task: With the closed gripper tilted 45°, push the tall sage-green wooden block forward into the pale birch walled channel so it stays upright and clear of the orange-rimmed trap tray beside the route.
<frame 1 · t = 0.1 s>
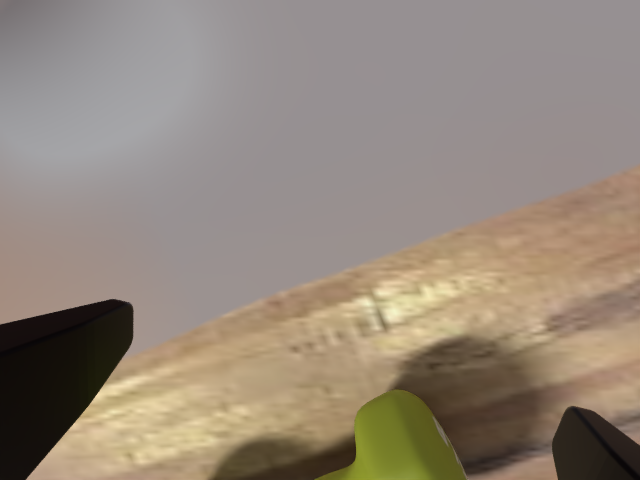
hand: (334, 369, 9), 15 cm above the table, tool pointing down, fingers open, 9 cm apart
dumbbell: (317, 475, 26), on the table
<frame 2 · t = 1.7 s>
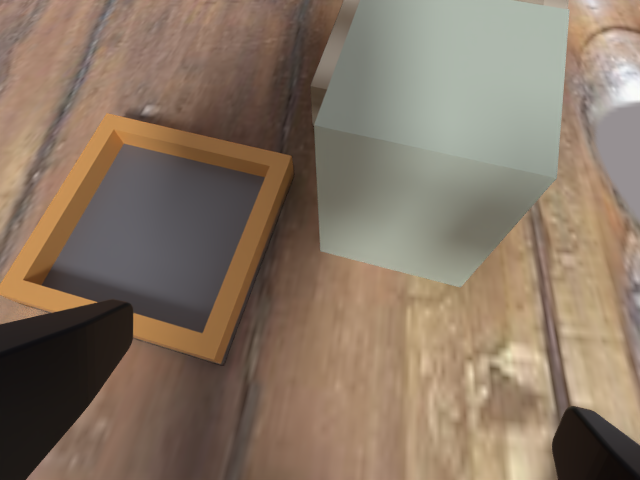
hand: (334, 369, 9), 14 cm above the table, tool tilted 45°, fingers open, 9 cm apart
trap tray: (165, 235, 25), on the table
birch channel: (434, 79, 30), on the table
sage block: (403, 208, 26), on the table
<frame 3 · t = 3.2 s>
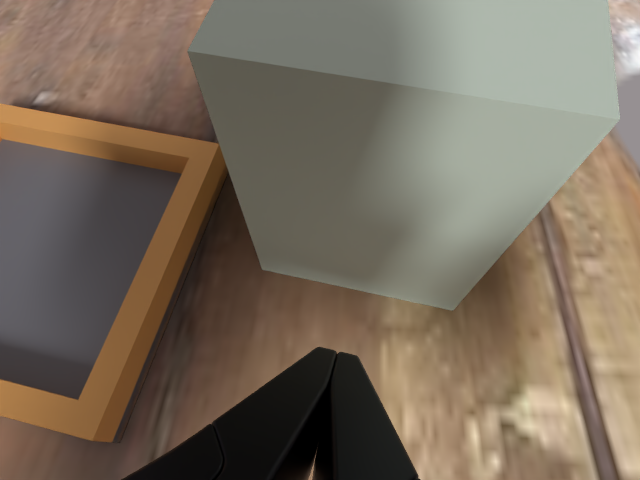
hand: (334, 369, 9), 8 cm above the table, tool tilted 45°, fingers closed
trap tray: (51, 257, 18), on the table
sage block: (372, 208, 19), on the table
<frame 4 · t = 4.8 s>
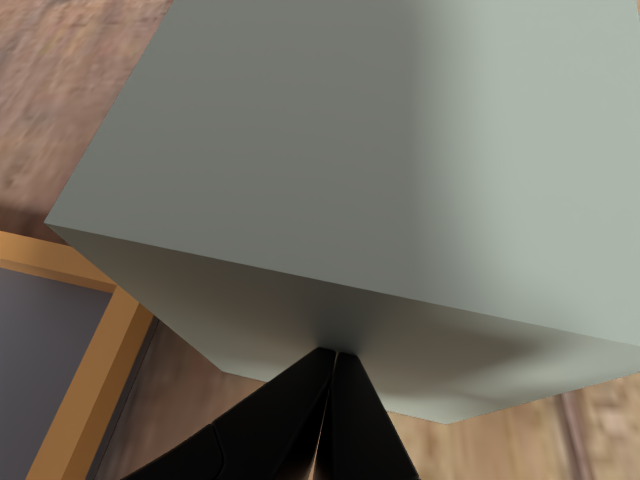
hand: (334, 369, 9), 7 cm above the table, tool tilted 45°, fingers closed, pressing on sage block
sage block: (352, 291, 17), on the table, touching gripper
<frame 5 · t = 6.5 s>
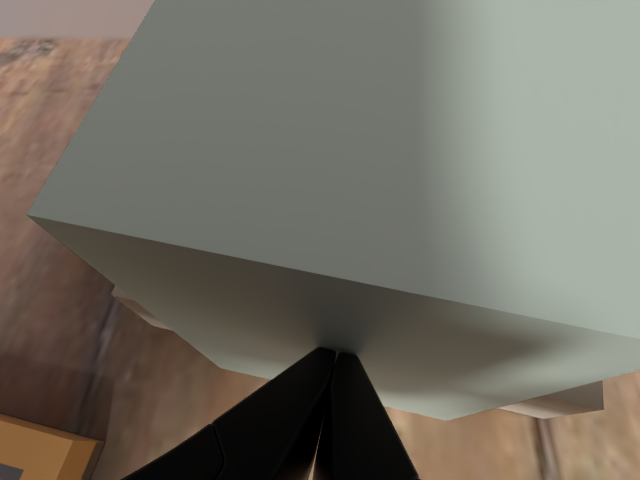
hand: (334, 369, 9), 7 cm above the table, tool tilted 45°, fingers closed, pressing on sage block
birch channel: (368, 223, 18), on the table
sage block: (351, 286, 17), on the table, touching gripper
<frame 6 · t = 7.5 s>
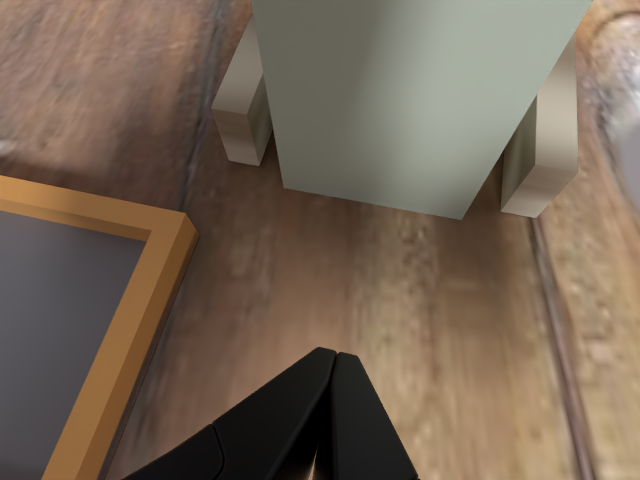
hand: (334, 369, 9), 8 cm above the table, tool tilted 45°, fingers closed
trap tray: (2, 340, 17), on the table
birch channel: (396, 90, 22), on the table
sage block: (384, 133, 21), on the table
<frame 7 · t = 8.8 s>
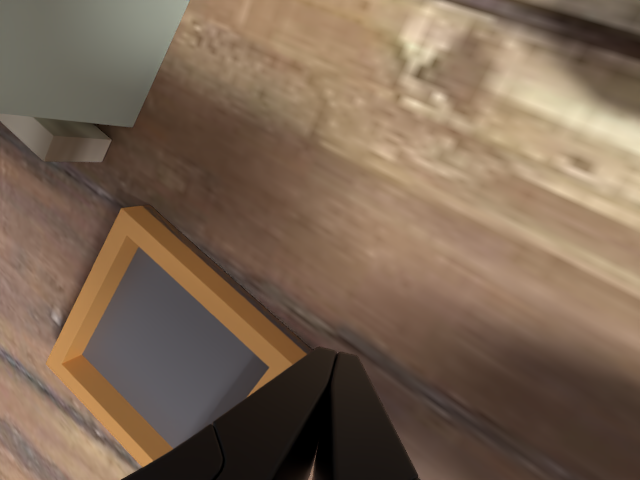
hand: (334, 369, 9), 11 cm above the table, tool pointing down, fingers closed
trap tray: (178, 350, 25), on the table
sage block: (110, 20, 23), on the table
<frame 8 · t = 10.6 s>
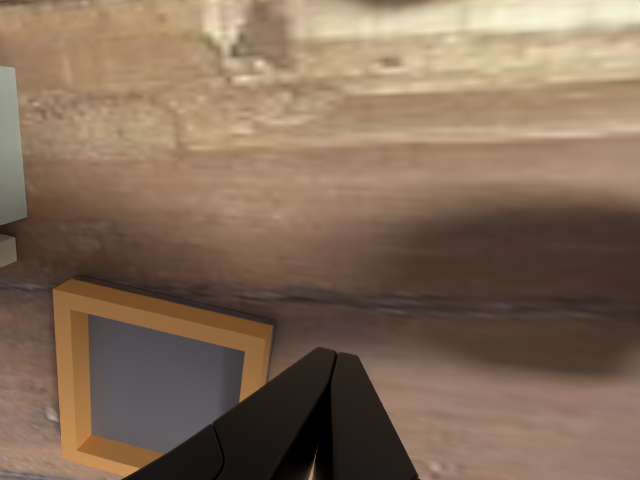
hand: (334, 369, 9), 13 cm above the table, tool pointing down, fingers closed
trap tray: (170, 383, 26), on the table
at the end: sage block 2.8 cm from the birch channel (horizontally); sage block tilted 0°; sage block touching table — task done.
